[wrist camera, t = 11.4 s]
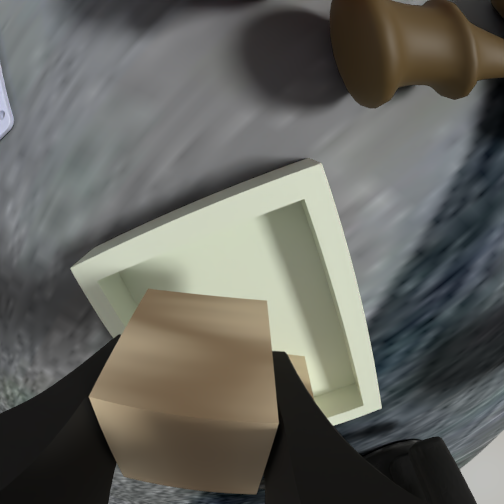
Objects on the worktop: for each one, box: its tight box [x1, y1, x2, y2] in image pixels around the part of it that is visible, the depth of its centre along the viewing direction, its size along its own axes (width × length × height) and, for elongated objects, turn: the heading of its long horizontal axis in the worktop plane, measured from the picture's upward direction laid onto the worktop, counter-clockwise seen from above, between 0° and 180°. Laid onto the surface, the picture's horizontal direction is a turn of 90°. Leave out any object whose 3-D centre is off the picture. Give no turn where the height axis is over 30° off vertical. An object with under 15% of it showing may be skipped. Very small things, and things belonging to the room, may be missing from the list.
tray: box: [70, 158, 382, 426], centre depth 14 cm, size 14×11×2 cm
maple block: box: [89, 289, 279, 494], centre depth 8 cm, size 4×4×5 cm
